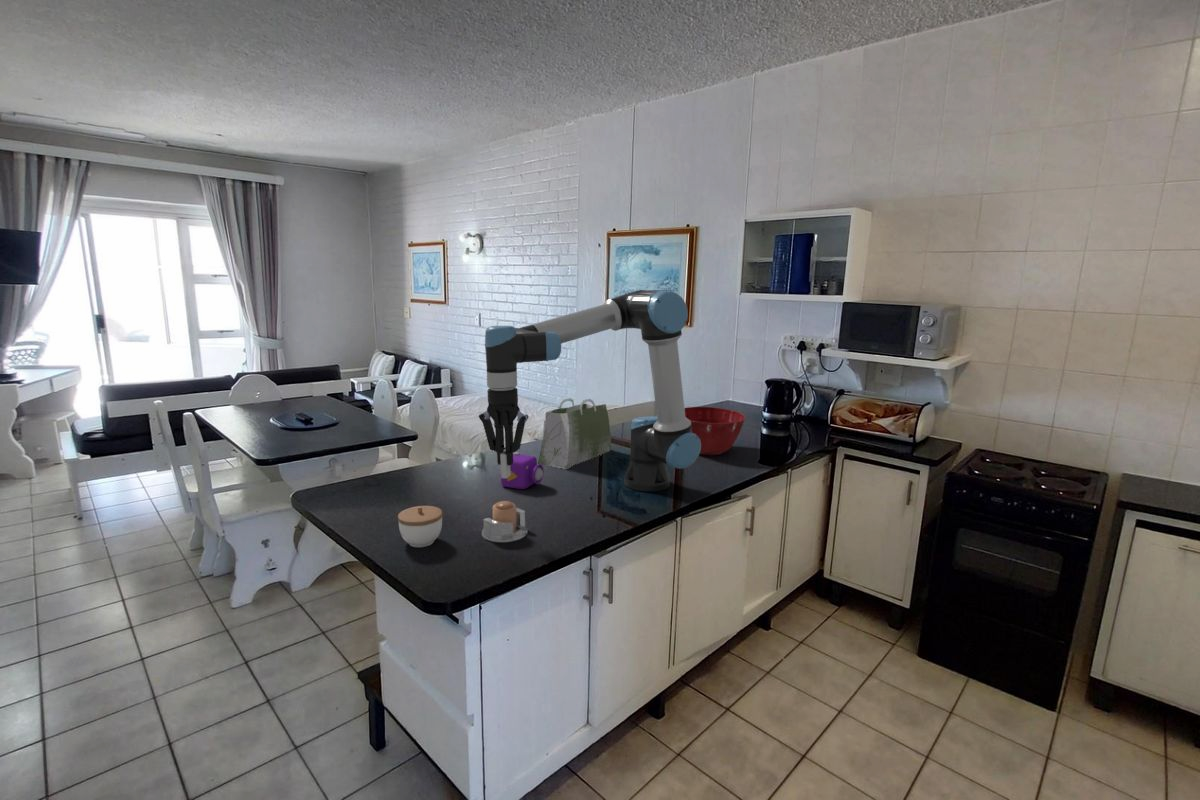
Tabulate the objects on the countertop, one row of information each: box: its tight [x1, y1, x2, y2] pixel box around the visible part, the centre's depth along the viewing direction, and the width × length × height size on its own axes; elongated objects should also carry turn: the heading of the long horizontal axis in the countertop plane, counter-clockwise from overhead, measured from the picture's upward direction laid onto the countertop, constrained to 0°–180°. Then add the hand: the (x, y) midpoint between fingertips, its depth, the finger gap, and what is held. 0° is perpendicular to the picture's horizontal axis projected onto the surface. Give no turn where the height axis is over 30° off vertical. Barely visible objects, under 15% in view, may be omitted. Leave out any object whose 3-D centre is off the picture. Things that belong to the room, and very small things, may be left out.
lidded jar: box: [397, 505, 443, 548], centre depth 143 cm, size 11×11×9 cm
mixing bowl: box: [684, 406, 746, 456], centre depth 229 cm, size 28×28×16 cm
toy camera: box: [500, 451, 545, 490], centre depth 185 cm, size 11×14×10 cm
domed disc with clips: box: [481, 507, 528, 544], centre depth 149 cm, size 12×12×5 cm
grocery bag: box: [537, 398, 612, 470], centre depth 217 cm, size 32×14×23 cm, turn 148°
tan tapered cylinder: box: [492, 500, 517, 534], centre depth 149 cm, size 6×6×8 cm
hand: (506, 476), depth 147 cm, fingers closed
